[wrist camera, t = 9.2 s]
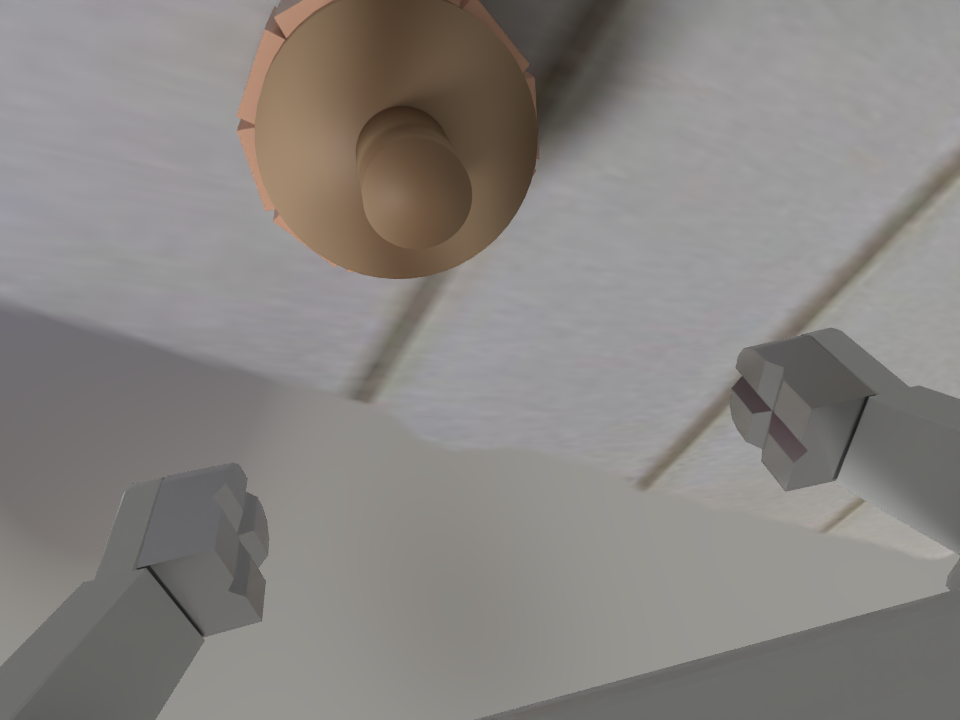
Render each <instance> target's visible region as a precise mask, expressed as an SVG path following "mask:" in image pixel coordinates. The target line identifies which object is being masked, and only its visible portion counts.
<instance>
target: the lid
mask: <svg viewBox="0 0 960 720" xmlns="http://www.w3.org/2000/svg"><path fill="white" fill-rule="evenodd" d="M537 148H538V128H537V119H536V111H535V107H534V103H533V99H532V95H531V92H530V89H529V87H528V84H527V81H526V79H525V76H524V74H523V72H522V71H521V69H520V67H519V65H518V63H517V62H516V60H515V58H514V57H513V55H512V54H511V53H510V51H509V50H508V49H507V47H506V46H505V45H504V43H503V42H502V41H501V40H500V39H499V38H498V37H497V36H496V35H495V34H494V33H493V32H492V31H491V30H490V29H489V28H488V27H487V26H486V25H484V24H483V23H482V22H480V21H479V20H478V19H476V18H475V17H474V16H473V15H471V14H470V13H468V12H467V11H465V10H464V9H462V8H460V7H458V6H457V5H455V4H453V3H451V2H449V1H448V0H334V1H331V2H329V3H328V4H326V5H325V6H323V7H321V8H320V9H318V10H316V11H315V12H313V13H312V14H311V15H310V16H308V17H307V18H306V19H305V20H304V21H302V22H301V23H300V24H299V25H298V26H297V27H296V28H295V29H294V30H293V31H292V33H291V34H290V35H289V36H288V37H287V38H286V39H285V41H284V42H283V44H282V45H281V47H280V49H279V50H278V52H277V53H276V55H275V56H274V58H273V60H272V63H271V65H270V67H269V69H268V72H267V74H266V76H265V79H264V83H263V86H262V90H261V93H260V97H259V100H258V104H257V111H256V118H255V149H256V156H257V163H258V167H259V170H260V174H261V177H262V181H263V184H264V186H265V188H266V191H267V193H268V195H269V198H270V200H271V202H272V203H273V205H274V207H275V208H276V210H277V212H278V213H279V215H280V216H281V218H282V219H283V220H284V222H285V223H286V224H287V226H288V227H289V228H290V229H291V230H292V232H293V233H294V234H295V235H296V236H297V237H298V238H299V239H300V240H301V241H302V242H303V243H305V244H306V245H307V246H308V247H310V248H311V249H312V250H313V251H315V252H316V253H317V254H319V255H321V256H322V257H324V258H326V259H327V260H329V261H330V262H332V263H334V264H337V265H339V266H341V267H343V268H345V269H348V270H351V271H354V272H357V273H360V274H363V275H368V276H373V277H378V278H390V279H407V278H417V277H423V276H429V275H432V274H436V273H440V272H443V271H446V270H448V269H451V268H453V267H456V266H458V265H460V264H462V263H463V262H465V261H467V260H469V259H471V258H472V257H474V256H475V255H477V254H478V253H479V252H481V251H482V250H484V249H485V248H486V247H487V246H488V245H490V244H491V243H492V242H493V241H494V240H495V239H496V238H497V237H498V236H499V235H500V234H501V233H502V232H503V230H504V229H505V228H506V227H507V226H508V224H509V223H510V222H511V220H512V219H513V217H514V216H515V214H516V213H517V211H518V209H519V208H520V206H521V204H522V202H523V200H524V198H525V196H526V193H527V191H528V188H529V186H530V183H531V180H532V176H533V172H534V168H535V163H536V156H537Z"/></svg>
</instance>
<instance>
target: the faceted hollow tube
mask: <svg viewBox="0 0 960 720" xmlns="http://www.w3.org/2000/svg"><path fill="white" fill-rule="evenodd" d="M331 1H334V0H281V1H280V3H279V6H278V8H277V7H275V6H274V9H273V11H272V13H271V16H270V18H269V20H268V22H267V25H266V27H265V29H264V33H263V36H262V39H261V42H260V45H259V48H258V51H257V54H256V57H255V60H254V64H253V67H252V70H251V73H250V76H249V79H248V82H247V85H246V88H245V92H244V95H243V98H242V101H241V104H240V107H239V110H238V113H237V116H236V117H238V118H241V121H240V123H239V126H238V129H237V132H238V135H239V138H240V141H241V144H242V147H243V149H244V152H245V155H246V158H247V161H248V163H249V166H250V169H251V172H252V175H253V177H254V180H255V183H256V186H257V189H258V191H259V194H260V197H261V200H262V203H263V206H264V208H265V211H269V210H274V209H275V212H274V219H273V222H275V223H276V224H277V225H279V226H280V227H282V228H283V229H284V230H286V231H287V232H288V233H290V234H291V235H292V236H294V237H295V238H296V239H298V240H299V241H300V242H302V241H301V240H300V239H299V238H298V237H297V236H296V235H295V234H294V233H293V232H292V230H291V229H290V228H289V227H288V226H287V224H286V223H285V222H284V220H283V219H282V218H281V216H280V215H279V213H278V212H277V210H276V208H275V207H274V205H273V203H272V202H271V200H270V198H269V195H268V193H267V191H266V188H265V186H264V184H263V181H262V177H261V174H260V170H259V167H258V163H257V156H256V149H255V118H256V111H257V104H258V100H259V97H260V93H261V90H262V86H263V83H264V79H265V76H266V74H267V72H268V69H269V67H270V65H271V63H272V60H273V58H274V56H275V55H276V53H277V52H278V50H279V49H280V47H281V45H282V44H283V42H284V41H285V39H286V38H287V37H288V36H289V35H290V34H291V33H292V31H293V30H294V29H295V28H296V27H297V26H298V25H299V24H300V23H301V22H302V21H304V20H305V19H306V18H307V17H308V16H310V15H311V14H312V13H313V12H315V11H316V10H318V9H320V8H321V7H323V6H325V5H326V4H328V3H329V2H331ZM448 1H449V2H451V3H453V4H455V5H457V6H458V7H460V8H462V9H464V10H465V11H467V12H468V13H470V14H471V15H473V16H474V17H475V18H476V19H478V20H479V21H480V22H482V23H483V24H484V25H486V26H487V27H488V28H489V29H490V30H491V31H492V32H493V33H494V34H495V35H496V36H497V37H498V38H499V39H500V40H501V41H502V42H503V43H504V45H505V46H506V47H507V49H508V50H509V51H510V53H511V54H512V55H513V57H514V58H515V60H516V62H517V63H518V65H519V67H520V69H521V71H522V72H523V74H524V76H525V79H526V81H527V84H528V87H529V89H530V92H531V95H532V99H533V103H534V107H535V111H536V119H537V109H536V90H535V77H533V76H532V75H531V74H530V73H528V72H527V71H526V69H527V68H528V67H529V66H530V64H529V63H528V62H527V60H526V59H525V58H524V56H523V55H522V54H521V53H520V51H519V50H518V49H517V48H516V46H515V45H514V44H513V43H512V41H511V40H510V39H509V38H508V36H507V35H506V34H505V32H504V31H503V30H502V29H501V27H500V26H499V25H498V24H497V22H496V21H495V20H494V19H493V17H492V16H491V15H490V14H489V12H488V11H487V10H486V9H485V7H484V6H483V5H482V3H481V2H480V1H479V0H448ZM536 159H539V147H538V148H537V156H536ZM535 172H536V170H535V168H534V172H533V175H534V173H535ZM532 177H533V176H532ZM302 243H303V242H302ZM303 244H304V245H306V244H305V243H303ZM306 246H307V245H306ZM307 247H308V246H307ZM309 248H310V247H309ZM310 249H311V248H310ZM311 250H312V249H311ZM314 252H315V251H314ZM315 253H316V252H315ZM318 255H319V254H318ZM319 256H321V255H319ZM321 257H322V256H321ZM322 258H323V259H325V260H326V261H327V262H329V263H330V264H332V265H333V266H334V267H336V266H337V264H334V263H332V262H330V261H329V260H327V259H326V258H324V257H322ZM346 271H347V272H354V271H351V270H348V269H346Z"/></svg>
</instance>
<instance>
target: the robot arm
mask: <svg viewBox="0 0 960 720" xmlns="http://www.w3.org/2000/svg"><path fill="white" fill-rule="evenodd" d="M736 369H737V370H738V371H739V373H740V374H741V375H742V377H741V378H740V379H739V380H738V381H737V383H736V384H735V385H734V386H733V387H732V389H731V395H730V402H729V405H730V410H731V415H732V419H733V421H734V424H735V426H736V428H737V430H738V431H739V433H740V434H741V435H742V437H743V438H744V439H745V441H746V442H748V443H750V444H752V445H755V446H757V447H759V448H761V449H762V459H761V461H762V463H763V464H764V465H765V466H766V468H767V469H768V470H769V471H770V473H771V474H772V475H773V477H774V478H775V479H776V480H777V482H778V483H779V484H780V485H781V487H782V488H783V489H784V491H785V492H786V491H790V490H795V489H800V488H804V487H809V486H813V485H818V484H822V483H827V482H832V481H836V482H835V483H836V484H837V485H839V486H841V487H843V488H844V489H846V490H848V491H849V492H851V493H853V494H855V495H856V496H858V497H860V498H862V499H863V500H865V501H867V502H869V503H870V504H872V505H874V506H875V507H877V508H879V509H881V510H882V511H884V512H886V513H888V514H889V515H891V516H893V517H895V518H896V519H898V520H900V521H901V522H903V523H905V524H907V525H908V526H910V527H912V528H914V529H915V530H917V531H919V532H921V533H922V534H924V535H926V536H927V537H929V538H931V539H933V540H934V541H936V542H938V543H940V544H941V545H943V546H945V547H947V548H948V549H950V550H952V551H954V552H955V553H957V554H959V555H960V399H958V398H955V397H952V396H949V395H946V394H943V393H940V392H937V391H934V390H931V389H928V388H925V387H922V386H914V387H909V386H907V385H906V384H905V383H904V382H903V381H901V380H900V379H899V378H898V377H897V376H895V375H894V374H893V373H892V372H890V371H889V370H888V369H887V368H886V367H884V366H883V365H882V364H881V363H880V362H878V361H877V360H876V359H875V358H874V357H872V356H871V355H870V354H869V353H867V352H866V351H865V350H864V349H863V348H861V347H860V346H859V345H858V344H857V343H855V342H854V341H853V340H852V339H851V338H849V337H848V336H847V335H846V334H844V333H843V332H842V331H840V330H838V329H834V328H827V329H823V330H819V331H814V332H810V333H806V334H802V335H801V336H794V337H790V338H786V339H781V340H777V341H773V342H769V343H764V344H760V345H756V346H751V347H747V348H744V349H743V350H742V351H741V353H740V354H739V355H738V359H737V364H736ZM246 486H247V477H246V475H245V473H244V472H243V470H242V468H241V467H240V465H239V464H237V463H229V464H223V465H218V466H213V467H208V468H204V469H199V470H193V471H188V472H184V473H178V474H173V475H169V476H166V477H163V478H158V479H153V480H148V481H142V482H137V483H132V485H130V486H129V487H128V488H127V489H126V490H125V492H124V494H123V497H122V500H121V503H120V506H119V509H118V512H117V515H116V518H115V520H114V524H113V526H112V529H111V532H110V535H109V538H108V541H107V544H106V547H105V550H104V552H103V555H102V558H101V561H100V564H99V567H98V570H97V572H96V576H95V578H94V580H92V581H87V582H83V583H82V584H81V585H80V586H79V587H78V588H77V589H76V590H75V591H74V592H73V593H72V594H71V595H70V596H69V597H68V599H66V600H65V601H64V602H63V604H61V606H60V607H59V608H58V609H57V610H56V611H55V612H54V613H53V614H52V615H51V616H50V617H49V618H48V619H47V620H46V621H45V622H44V623H43V624H42V625H41V626H40V627H39V628H38V629H37V630H36V631H35V632H34V633H33V634H32V635H31V636H30V637H29V638H28V639H27V640H26V641H25V642H24V643H23V644H22V645H21V646H20V647H19V648H18V649H17V650H16V651H15V652H14V653H13V654H12V656H10V658H8V660H7V661H6V662H5V663H4V664H3V665H2V666H1V667H0V720H155V719H156V718H157V716H158V715H159V713H160V711H161V710H162V708H163V706H164V705H165V703H166V702H167V700H168V699H169V697H170V695H171V694H172V692H173V691H174V689H175V687H176V686H177V684H178V683H179V681H180V679H181V678H182V676H183V675H184V673H185V671H186V670H187V668H188V666H189V665H190V663H191V662H192V660H193V658H194V657H195V655H196V654H197V652H198V650H199V649H200V647H201V646H202V644H203V642H204V638H203V637H206V636H210V635H214V634H217V633H221V632H225V631H228V630H232V629H235V628H239V627H243V626H246V625H250V624H254V623H257V622H261V621H262V615H263V605H264V594H265V584H266V581H265V579H264V577H263V575H262V574H261V572H260V570H259V569H258V568H259V567H260V565H261V564H262V563H263V561H264V560H265V559H266V557H267V556H268V548H269V534H268V526H267V519H266V516H265V512H264V510H263V507H262V505H261V503H260V501H259V499H258V497H256V496H254V495H252V494H250V493H248V492H246ZM946 586H947V587H948V588H949V590H950V591H949V592H945V593H941V594H938V595H934V596H930V597H927V598H923V599H919V600H915V601H912V602H908V603H905V604H901V605H897V606H893V607H890V608H886V609H882V610H878V611H875V612H871V613H867V614H863V615H860V616H856V617H852V618H849V619H845V620H841V621H838V622H834V623H830V624H826V625H823V626H819V627H815V628H812V629H808V630H804V631H801V632H797V633H793V634H790V635H786V636H782V637H778V638H775V639H771V640H768V641H764V642H760V643H756V644H753V645H749V646H745V647H741V648H738V649H734V650H730V651H726V652H723V653H719V654H715V655H712V656H708V657H704V658H701V659H697V660H693V661H690V662H686V663H682V664H678V665H675V666H671V667H667V668H663V669H660V670H656V671H653V672H649V673H645V674H641V675H638V676H634V677H630V678H627V679H623V680H619V681H616V682H612V683H608V684H604V685H601V686H597V687H593V688H590V689H586V690H582V691H578V692H575V693H572V694H568V695H564V696H560V697H556V698H553V699H549V700H546V701H542V702H538V703H535V704H531V705H527V706H523V707H519V708H516V709H512V710H508V711H505V712H501V713H497V714H493V715H490V716H486V717H482V718H479V719H475V720H960V559H959V560H958V562H957V563H956V565H955V566H954V568H953V569H952V571H951V572H950V574H949V575H948V577H947V583H946Z"/></svg>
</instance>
